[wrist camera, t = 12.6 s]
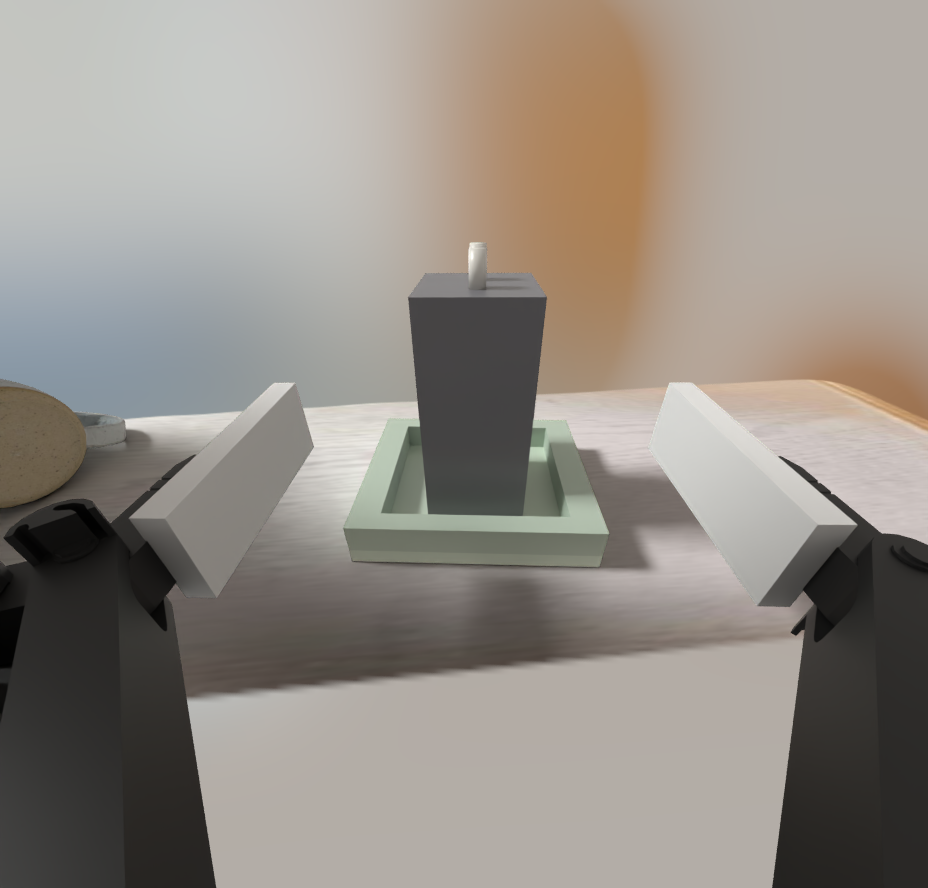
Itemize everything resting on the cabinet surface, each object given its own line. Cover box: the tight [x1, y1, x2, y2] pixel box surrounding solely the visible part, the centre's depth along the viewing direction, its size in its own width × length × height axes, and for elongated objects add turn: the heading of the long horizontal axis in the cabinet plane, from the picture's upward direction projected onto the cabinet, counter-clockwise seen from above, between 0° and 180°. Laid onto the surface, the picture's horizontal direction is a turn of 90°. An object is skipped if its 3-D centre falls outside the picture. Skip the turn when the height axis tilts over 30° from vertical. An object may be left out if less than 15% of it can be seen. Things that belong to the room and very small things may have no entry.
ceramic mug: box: [0, 379, 126, 508], centre depth 22 cm, size 11×8×8 cm
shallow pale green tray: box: [343, 419, 609, 567], centre depth 21 cm, size 12×10×2 cm
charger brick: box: [408, 242, 547, 516], centre depth 18 cm, size 5×5×12 cm
